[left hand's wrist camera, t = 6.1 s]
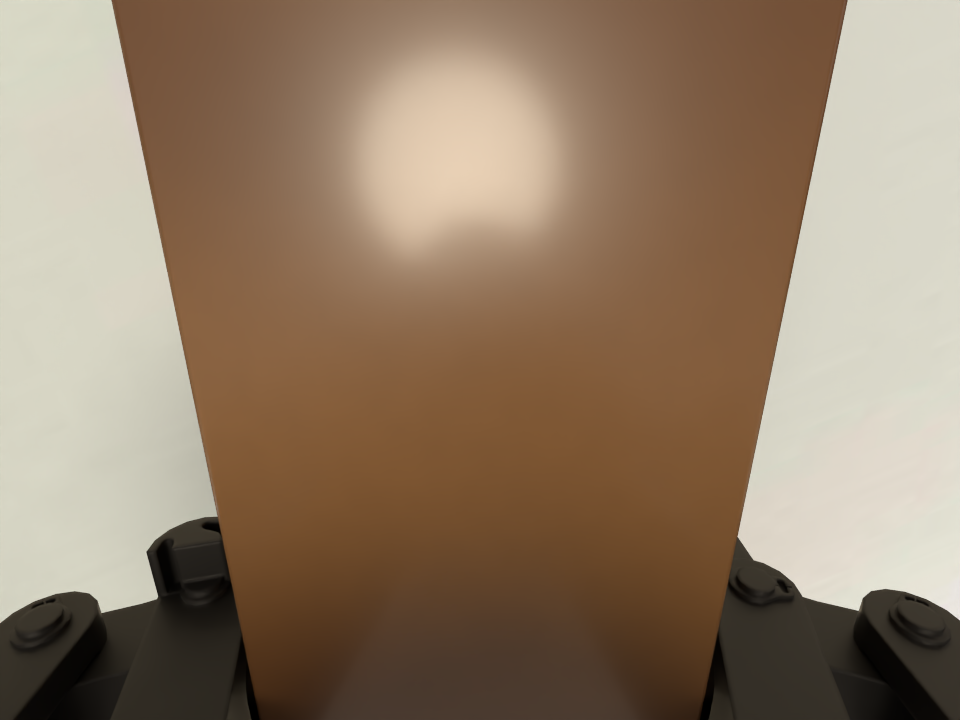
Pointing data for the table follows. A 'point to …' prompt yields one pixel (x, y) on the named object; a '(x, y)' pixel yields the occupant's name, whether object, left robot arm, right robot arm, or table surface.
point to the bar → (479, 329)
